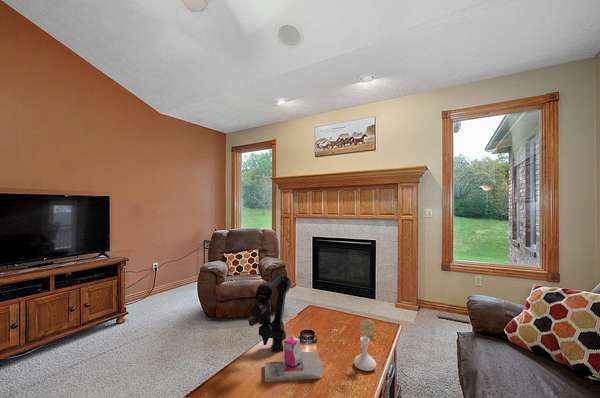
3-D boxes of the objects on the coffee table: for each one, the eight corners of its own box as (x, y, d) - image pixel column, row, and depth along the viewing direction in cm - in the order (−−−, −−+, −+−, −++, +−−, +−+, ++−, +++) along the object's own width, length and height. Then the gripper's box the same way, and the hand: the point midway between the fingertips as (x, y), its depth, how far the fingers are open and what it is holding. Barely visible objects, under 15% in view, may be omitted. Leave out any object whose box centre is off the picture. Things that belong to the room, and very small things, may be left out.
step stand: (264, 366, 133) (265, 354, 133) (317, 363, 136) (317, 351, 137) (264, 381, 121) (264, 368, 121) (322, 378, 124) (322, 365, 125)
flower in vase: (349, 362, 137) (349, 314, 138) (366, 358, 142) (367, 311, 142) (364, 377, 125) (364, 324, 126) (383, 372, 130) (383, 321, 130)
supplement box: (291, 358, 133) (291, 335, 134) (300, 362, 129) (300, 339, 130) (284, 363, 129) (283, 339, 129) (293, 368, 125) (292, 343, 125)
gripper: (250, 303, 142) (250, 332, 142) (248, 318, 124) (247, 351, 124) (270, 302, 144) (270, 330, 144) (271, 317, 125) (271, 350, 125)
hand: (264, 340), depth 134 cm, fingers open, 9 cm apart
